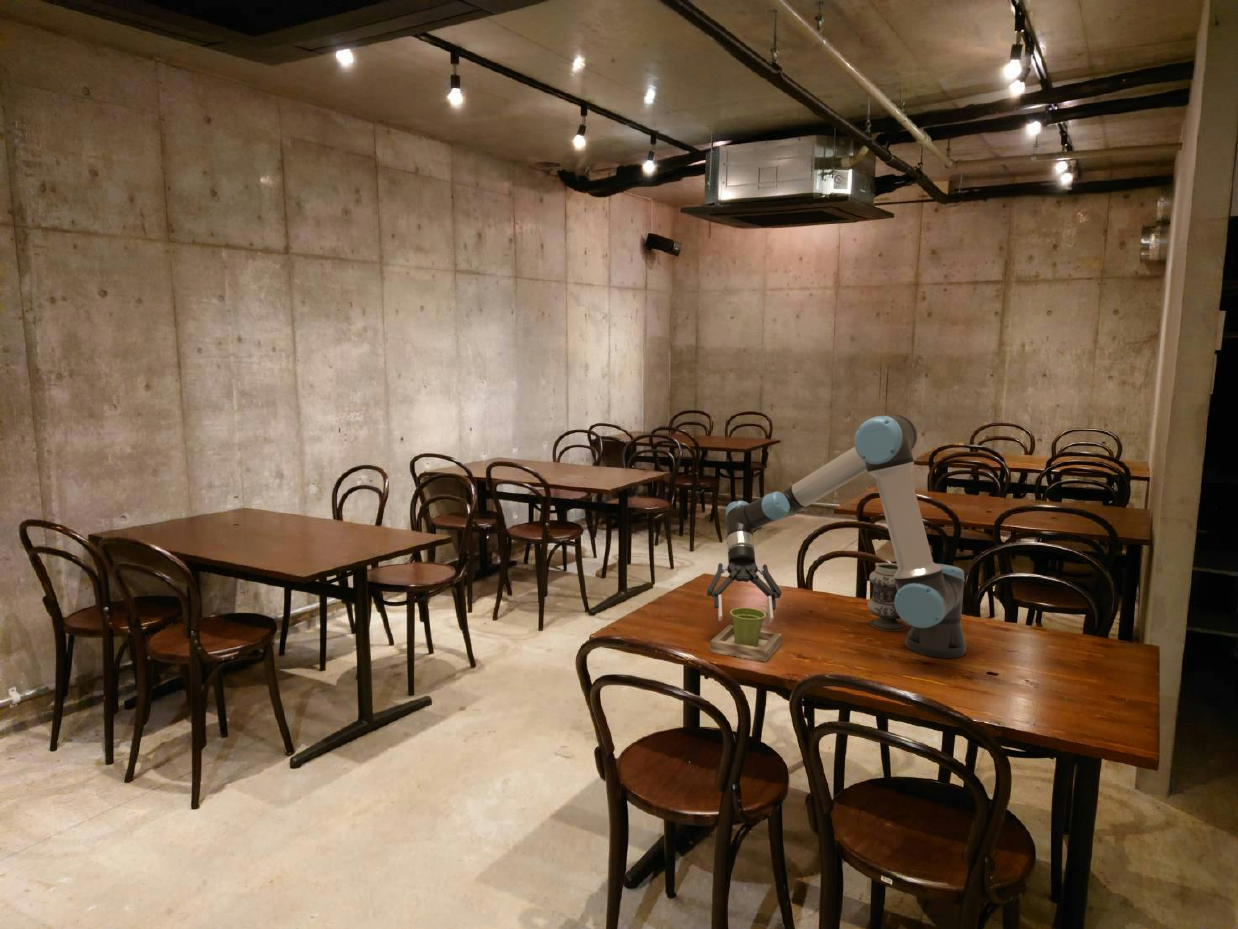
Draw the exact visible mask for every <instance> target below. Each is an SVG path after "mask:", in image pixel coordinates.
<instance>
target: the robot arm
mask: <svg viewBox="0 0 1238 929" xmlns="http://www.w3.org/2000/svg"><path fill="white" fill-rule="evenodd" d="M917 441H918V430H917V428H916V425H915V424H914V423H913V421H912V420H910V419H909V418H908V417H906V416H903V415H900V414H888V415H879V416H878V415H877V416H874V417H871V418H868V419H867V420H866V421H864V422H862V423H861V425H860V426H859V427H858V428H857V430H856V432H855V434H854V442H853V443H854V446H853V447H852V448H850V449H848V450H846V451H845V452H844V453H842V454H841V455H838V456H837V457H835V458H834V459H832V460H831V461H829V462H828V463H826V464H824V465H823V466H821V467H819V468H818V469H816V470H815V471H813V472H811V473H809V474H808V475H806V476H804V477H803V478H802V479H800V480H798V481H797V482H796V483H794V484H792V485H790V486H788V487H786V488H785V489H783V490H782V491H774V492H772V493H771V492H770V493H768V494H765V496H764V495H763V496H762V497H761V498H759V499H757V500H754V501H752V502H750V503H748V502H747V501H744V500H737V501H732V502H729V503H728V505H727V506H726V508H725V526H726V539H727V540H726V541H727V551H728V552H727V560H728V565H724V564H723V563H721V562H720V563H718V565H717V570H716V573H715V574H714V577H713V578H712V580H711V582H710V584H709V585H708V588H707V590H706V596H708V597H712V599H713V607H714V609H717V613H718V614H717V615H718V621H719V622H721V621H722V620H723V606H722V605H723V604H722V603H723V602H722V593H723V592H724V591H725V590H726V589H727V588H728V587H729V586H730V585H731V584H732V583H733V582H734V581H736V582H737V583H739V582H744V583H746V582H747V583H748V582H751V583H752V584H753V585H755V586H756V587H757V588H758V590H760V591H761V592H762V593H763V594H764V595H765V596H766V597H767V600H766V602H767V613H768V623H772V622H773V620H774V611H775V610H776V607H777V602H776V599H780V598H781V596H782V594H783V592H782V590H781V589H780V587H779V586H778V584H777V582H776V581H775V579H774V578H773V576H772V575H771V574H770V573H771V572H769V567H768V565H767V564H765V563H764V564H763V565H762V566H757V564H756V556H755V554H756V553H755V542H754V531H755V530H757V529H760V528H762V527H764V526H767V525H769V524H771V523H773V522H776V521H779V520H782V519H785V518H787V517H788V518H789V517H791V516H795V515H797V514H799V513H800V512H801V511H803V509H805V508H806V507H807V506H810V505H812V504H813V503H815V502H816V501H819V500H820V499H821V498H824V497H825V496H827V495H828V494H830V493H832V492H834V491H835V490H837V489H839V488H840V487H843V486H844V485H845V484H847V483H850V481H852V480H854V479H856V478H857V477H859V476H861V475H862V474H865V473H867V474H868V475H870V476H872V477H873V478H875V482H876V485H877V486H876V487H877V490H878V494H879V498H880V502H881V506H882V509H883V514H884V518H885V522H886V525H887V529H888V533H889V538H890V541H891V542H890V543H891V545H892V546H891V547H892V549H893V552H894V558H895V562H896V564H897V566H898V570H897V572H896V573H895V575H894V579H895V583H896V587H897V591H898V592H897V593H896V596H895V609H896V611H897V613H898V615H899V616H900V617H901V618H900V619H901V620H902V621H904V622H905V623H907V624H908V625H909V628H908V631H907V633H906V635H905V646H906V648H908V649H909V650H911V651H913V652H914V653H917V654H919V655H923V656H928V657H933V658H938V659H940V658H941V659H955V658H960V657H963V656H965V655H964V654H967V653H966V651H967V642H966V639H965V634H964V632H963V627H962V612H963V599H964V598H963V597H964V589H965V588H964V586H965V582H966V580H965V571H964V570H963V569H962V568H960V567H957V566H954V565H948V564H943V563H935V562H934V561H933V560H934V559H933V556H932V552H931V549H930V544H929V540H928V538H927V533H926V529H925V525H924V522H923V516H922V513H921V509H920V504H919V502H918V497H917V494H916V493H917V492H916V490H915V486H914V481H913V478H912V474H911V469H912V467H913V465H914V464H915V460H914V455H913V452H912V451H913V450H914V448H915V447H916V445H917V443H918V442H917ZM725 572H727V573H728V574H729V575H728V576H727V577H726V578H725V579H724V581H722V583H721V584H720V585H719V586H718V587H716V586H717V584H718V583H719V580H720V579H721V577H722V575H723V574H725ZM758 572H759V574H760V575H762V577H763V579H764V580H762V579H761V578H760V576H759V575H758ZM764 581H765V582H766V583H765V582H764ZM962 655H963V656H962Z"/></svg>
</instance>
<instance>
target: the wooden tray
mask: <svg viewBox="0 0 1238 929" xmlns="http://www.w3.org/2000/svg"><path fill="white" fill-rule="evenodd" d="M782 638H783V634H782V633H780V632H776V631H768V630H763V629H761V631H760V636H759V642H758V646H748V645H743V644H737V643H735V638H734V626H733V624H728V625H727V626H726V627H725V628H723V629H722V630H721V631H720V632H719V633H718V634H717V635H716V636H715V637H713V638H712V639H711V640H710V645H709V646H710V647H709V648H710V649H709V650H710V651H709V652H710V653H714V654H719V655H725V656H728V655H729V657H734V656H736V657H735V658H739V657H741V658H740V659H744V658H751V659H755V660H760V661H764V662H763V663H765V662H766V661H767V660H768V659H769V660H770V659H771V657H772V656H773V655H774V654H775V653H776V651H777V650H778V649H779V648H780V647H781V646H782ZM773 653H774V654H773ZM755 660H754V661H755ZM769 660H768V661H769ZM760 661H759V662H760ZM768 661H767V662H768ZM767 662H766V663H767Z"/></svg>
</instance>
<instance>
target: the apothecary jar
mask: <svg viewBox="0 0 1238 929" xmlns="http://www.w3.org/2000/svg"><path fill="white" fill-rule="evenodd" d="M897 570H898V566H897V563H893V562H892V563H891V562H880V563H876V565H875V569H874V570H873V571H871V573H870V574H869V581H870V583H871V584H872V586H873V587H872V596H871V598H870V599H869V600H868V601H867V606H866V607H867V609H868V610H869V612H870V613H871V614H872V615H874V616H876V617H878V618H876V619H873V620H871V621H870V622H869V623H870V626H871V627H872V628H874V627H875V629H878V630H880V631H886V632H901V631H905V629H906V628H907V626H906V624H905V623H904V622H902V621H900V620H898V619H901V617H900V616H899V615H898V613H897V611H896V609H895V596H896V593H897V592H898V591H897V587H896V583H895V579H894V575H895V573H896V572H897Z"/></svg>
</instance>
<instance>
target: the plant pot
mask: <svg viewBox="0 0 1238 929" xmlns="http://www.w3.org/2000/svg"><path fill="white" fill-rule="evenodd" d="M729 614H730V615H731V619H732V625H733V626H734V638H735V643H737V644H743V645H748V646H758V642H759V636H760V631H761V630H762V626H763V622H764V619H765V618H766V616H767V614H766V612H764V611H763V610H760V609H757V608H753V607H737V608H733V609H731V610H730V612H729Z"/></svg>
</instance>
